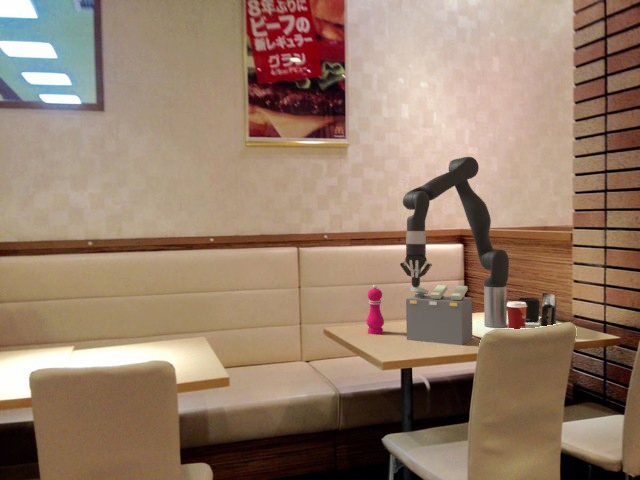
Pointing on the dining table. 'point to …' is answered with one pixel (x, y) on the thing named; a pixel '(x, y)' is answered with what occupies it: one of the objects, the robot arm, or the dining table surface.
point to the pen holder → (531, 309)
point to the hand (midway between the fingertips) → (415, 287)
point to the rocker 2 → (438, 291)
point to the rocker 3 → (458, 292)
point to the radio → (548, 310)
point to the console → (439, 319)
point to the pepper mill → (375, 312)
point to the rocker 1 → (419, 290)
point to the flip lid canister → (516, 314)
